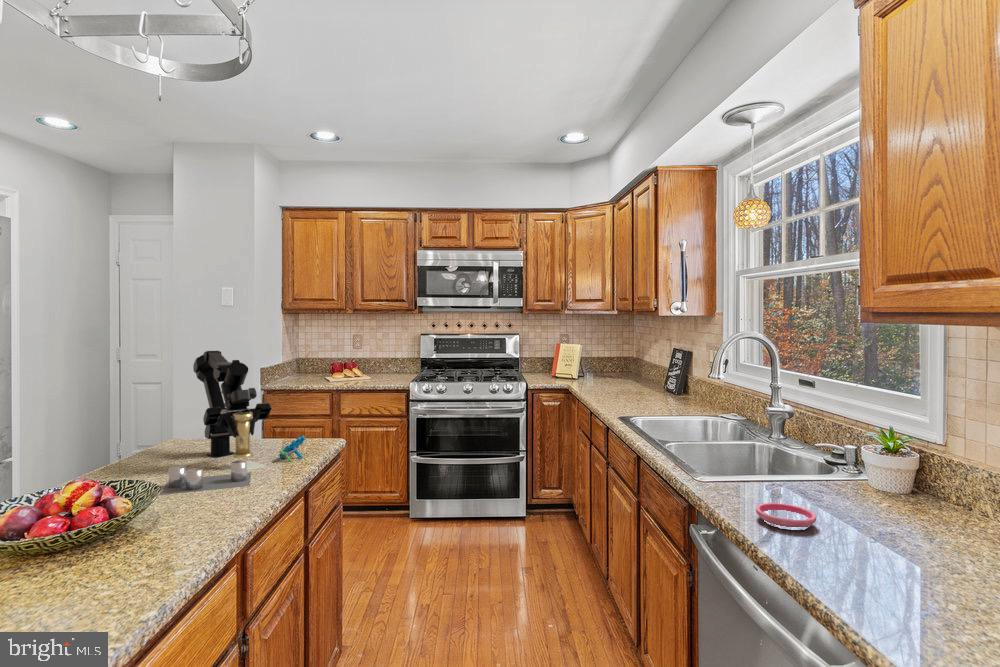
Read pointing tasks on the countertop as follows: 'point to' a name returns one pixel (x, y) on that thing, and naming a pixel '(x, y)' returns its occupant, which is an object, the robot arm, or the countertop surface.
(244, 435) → the brass post
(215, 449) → the robot arm
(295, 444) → the blue and green figurine
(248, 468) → the pad
